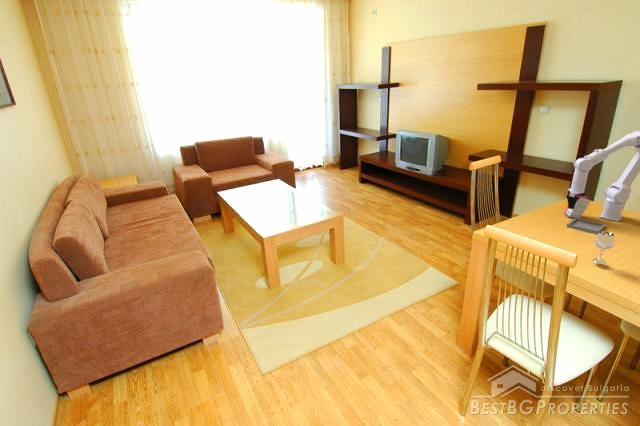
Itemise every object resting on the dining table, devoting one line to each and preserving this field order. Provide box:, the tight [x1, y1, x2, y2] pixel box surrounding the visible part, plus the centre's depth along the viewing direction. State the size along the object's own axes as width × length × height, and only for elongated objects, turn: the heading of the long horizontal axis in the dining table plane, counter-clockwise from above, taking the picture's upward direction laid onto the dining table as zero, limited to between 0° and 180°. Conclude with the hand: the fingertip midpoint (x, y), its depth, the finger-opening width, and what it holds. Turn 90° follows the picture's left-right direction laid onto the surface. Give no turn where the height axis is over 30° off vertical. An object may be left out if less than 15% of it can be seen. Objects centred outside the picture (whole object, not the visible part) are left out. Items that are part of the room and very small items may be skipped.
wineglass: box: [592, 230, 615, 265], centre depth 133 cm, size 6×6×12 cm
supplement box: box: [563, 194, 591, 219], centre depth 177 cm, size 6×6×12 cm
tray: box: [566, 218, 607, 235], centre depth 167 cm, size 13×13×2 cm
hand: (573, 206), depth 178 cm, fingers open, 7 cm apart
